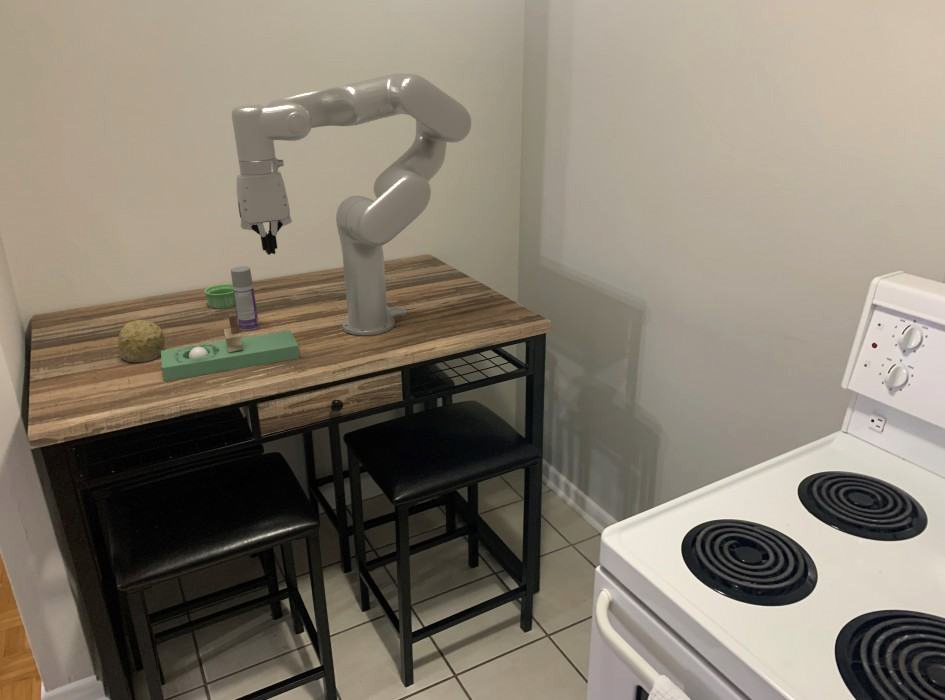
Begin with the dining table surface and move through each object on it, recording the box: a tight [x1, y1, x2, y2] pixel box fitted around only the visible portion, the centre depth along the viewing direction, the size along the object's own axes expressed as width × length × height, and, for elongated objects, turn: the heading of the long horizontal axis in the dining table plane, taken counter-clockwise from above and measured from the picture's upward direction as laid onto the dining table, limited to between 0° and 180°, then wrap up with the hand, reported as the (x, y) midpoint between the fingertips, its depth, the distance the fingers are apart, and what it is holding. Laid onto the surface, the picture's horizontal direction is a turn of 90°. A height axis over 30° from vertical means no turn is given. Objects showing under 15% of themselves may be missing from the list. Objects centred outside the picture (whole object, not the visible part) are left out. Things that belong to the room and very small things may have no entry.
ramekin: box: [204, 283, 236, 310], centre depth 195 cm, size 9×9×4 cm
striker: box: [223, 312, 243, 352], centre depth 159 cm, size 3×6×7 cm, turn 23°
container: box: [230, 265, 260, 332], centre depth 177 cm, size 5×5×15 cm
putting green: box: [160, 329, 300, 382], centre depth 161 cm, size 28×10×3 cm, turn 112°
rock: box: [117, 319, 166, 363], centre depth 164 cm, size 10×11×10 cm
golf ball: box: [189, 347, 208, 359], centre depth 158 cm, size 4×4×4 cm
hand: (270, 252), depth 160 cm, fingers closed
